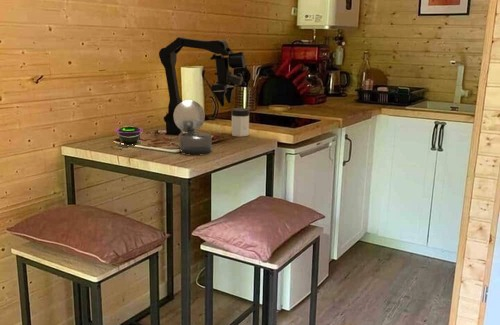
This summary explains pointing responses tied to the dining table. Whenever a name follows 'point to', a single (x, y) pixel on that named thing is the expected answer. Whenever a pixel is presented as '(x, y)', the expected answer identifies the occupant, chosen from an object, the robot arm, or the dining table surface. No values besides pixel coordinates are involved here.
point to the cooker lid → (189, 116)
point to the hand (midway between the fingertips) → (226, 104)
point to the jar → (240, 122)
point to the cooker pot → (196, 143)
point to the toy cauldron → (129, 136)
